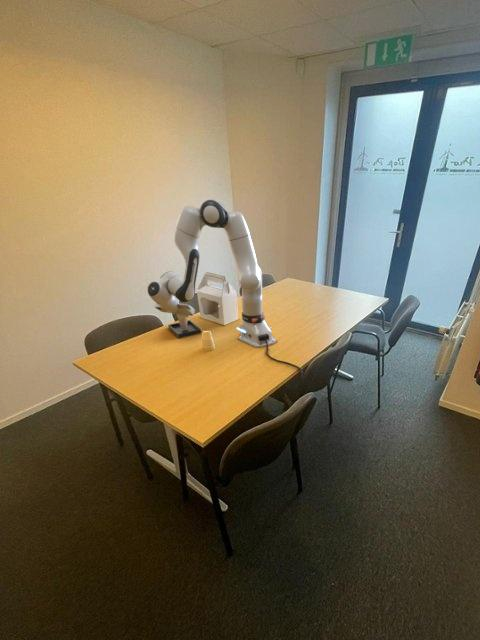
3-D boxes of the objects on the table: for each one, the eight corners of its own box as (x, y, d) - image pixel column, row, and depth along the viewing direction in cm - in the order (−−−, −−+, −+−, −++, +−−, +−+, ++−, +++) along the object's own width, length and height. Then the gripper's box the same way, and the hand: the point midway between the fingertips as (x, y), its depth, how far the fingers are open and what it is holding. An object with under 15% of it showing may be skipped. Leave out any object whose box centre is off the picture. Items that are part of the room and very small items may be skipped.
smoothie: (185, 324, 180) (181, 302, 172) (192, 327, 177) (188, 304, 169) (176, 328, 175) (171, 304, 167) (183, 330, 172) (179, 307, 164)
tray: (201, 332, 175) (200, 329, 174) (178, 338, 168) (177, 334, 167) (190, 323, 186) (189, 320, 184) (168, 328, 179) (167, 324, 178)
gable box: (200, 317, 195) (193, 273, 179) (214, 311, 204) (210, 269, 188) (224, 325, 184) (220, 279, 169) (239, 319, 194) (236, 275, 178)
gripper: (189, 300, 157) (200, 311, 171) (154, 296, 161) (168, 308, 174) (186, 311, 156) (197, 321, 170) (151, 307, 160) (165, 317, 173)
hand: (182, 314), depth 172 cm, fingers closed on smoothie, 6 cm apart
